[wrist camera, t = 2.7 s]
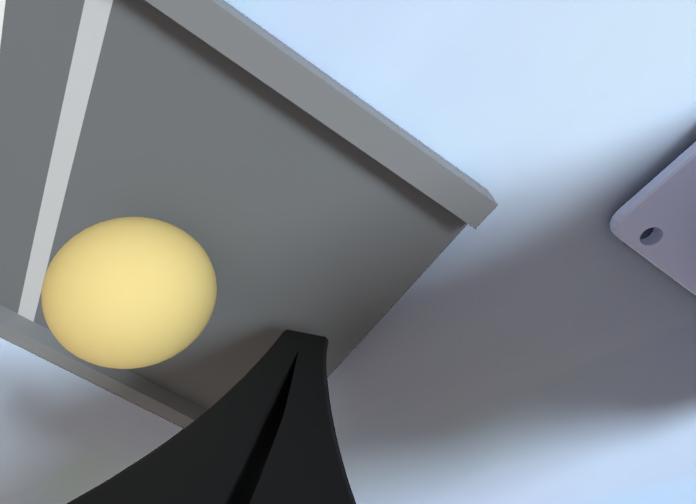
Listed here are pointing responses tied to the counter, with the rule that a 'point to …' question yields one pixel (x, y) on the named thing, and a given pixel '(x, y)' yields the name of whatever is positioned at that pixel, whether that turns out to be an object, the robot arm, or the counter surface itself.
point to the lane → (209, 182)
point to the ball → (129, 292)
